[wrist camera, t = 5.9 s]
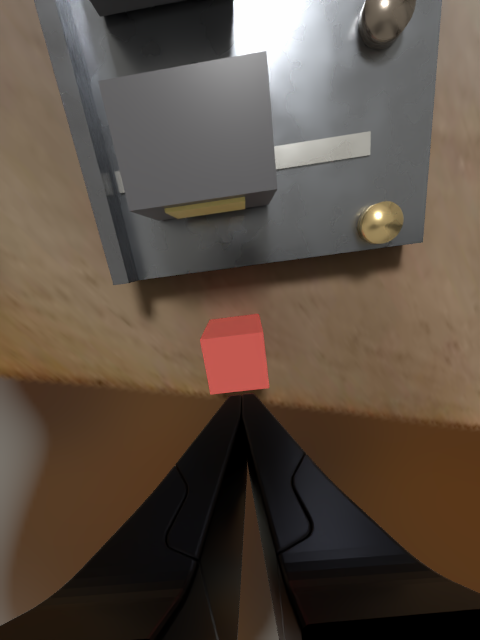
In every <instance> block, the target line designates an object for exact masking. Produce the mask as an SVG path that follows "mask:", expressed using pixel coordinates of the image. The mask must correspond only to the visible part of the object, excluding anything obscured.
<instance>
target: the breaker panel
mask: <svg viewBox="0 0 480 640" xmlns="http://www.w3.org/2000/svg"><path fill="white" fill-rule="evenodd" d="M34 2H35V6H36V10H37V13H38V17H39V20H40V24H41V27H42V31H43V35H44V38H45V42H46V45H47V49H48V52H49V56H50V60H51V63H52V67H53V70H54V74H55V77H56V81H57V85H58V88H59V92H60V95H61V99H62V102H63V106H64V110H65V113H66V117H67V120H68V124H69V127H70V131H71V135H72V138H73V142H74V145H75V149H76V152H77V156H78V160H79V163H80V167H81V170H82V174H83V177H84V181H85V185H86V188H87V192H88V195H89V199H90V202H91V206H92V210H93V213H94V217H95V220H96V224H97V227H98V231H99V235H100V238H101V242H102V245H103V249H104V252H105V256H106V260H107V263H108V267H109V270H110V274H111V277H112V281H113V285H118V284H126V283H131V282H134V281H138V280H144V279H151V278H159V277H166V276H174V275H181V274H189V273H196V272H204V271H211V270H219V269H226V268H234V267H241V266H249V265H256V264H264V263H271V262H279V261H286V260H293V259H301V258H308V257H316V256H323V255H331V254H338V253H346V252H353V251H361V250H368V249H376V248H383V247H391V246H398V245H406V244H413V243H421V242H423V233H424V220H425V207H426V195H427V182H428V170H429V157H430V144H431V132H432V119H433V106H434V94H435V81H436V69H437V56H438V43H439V31H440V18H441V6H442V0H184V1H179V2H174V3H168V4H163V5H158V6H153V7H148V8H143V9H138V10H132V11H127V12H122V13H117V14H112V15H107V16H101V17H100V16H99V15H98V13H97V11H96V10H95V8H94V7H93V5H92V3H91V2H90V0H34ZM261 51H267V62H268V75H269V88H270V101H271V113H272V126H273V139H274V151H275V164H276V177H277V191H276V193H275V194H274V196H273V198H272V200H271V202H270V203H269V205H263V206H256V207H249V208H245V209H242V210H235V211H229V212H222V213H215V214H208V215H201V216H194V217H187V218H181V219H177V218H174V219H167V220H160V221H157V220H154V219H151V218H148V217H145V216H142V215H139V214H136V213H133V212H130V211H129V208H128V204H127V200H126V195H125V191H124V187H123V183H122V179H121V175H120V170H119V166H118V162H117V158H116V154H115V150H114V146H113V141H112V137H111V133H110V129H109V125H108V121H107V116H106V112H105V108H104V104H103V100H102V96H101V92H100V87H99V83H98V81H100V80H106V79H111V78H117V77H122V76H128V75H133V74H139V73H145V72H150V71H156V70H161V69H167V68H172V67H178V66H184V65H189V64H195V63H200V62H206V61H211V60H217V59H222V58H228V57H234V56H239V55H245V54H250V53H256V52H261Z"/></svg>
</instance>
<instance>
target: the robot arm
mask: <svg viewBox="0 0 480 640" xmlns="http://www.w3.org/2000/svg"><path fill="white" fill-rule="evenodd" d="M247 462H248V469H249V475H250V481H251V486H252V492H253V498H254V502H255V508H256V514H257V519H258V525H259V531H260V536H261V542H262V547H263V552H264V558H265V564H266V570H267V575H268V581H269V586H270V591H271V597H272V603H273V609H274V614H275V620H276V625H277V631H278V636H279V640H480V593H478V592H475V591H473V590H471V589H469V588H467V587H464V586H462V585H460V584H458V583H455V582H453V581H451V580H449V579H447V578H445V577H443V576H442V575H440V574H438V573H436V572H435V571H433V570H432V569H430V568H429V567H427V566H426V565H424V564H423V563H422V562H420V561H419V560H418V559H416V558H415V557H414V556H412V555H411V554H410V553H409V552H407V550H405V549H404V548H403V547H402V546H401V545H400V544H399V543H397V542H396V541H395V540H394V539H393V538H392V537H391V536H390V535H389V534H388V533H387V532H386V531H384V530H383V529H382V528H381V527H380V526H379V525H378V524H377V523H376V522H375V521H374V520H373V519H371V518H370V517H369V516H368V515H367V514H366V513H365V512H364V511H363V510H362V509H361V508H359V507H358V506H357V505H356V504H355V503H354V502H353V501H352V500H351V499H349V497H348V496H346V495H345V494H344V493H343V492H342V491H341V490H340V489H339V488H338V487H337V486H336V485H335V484H334V483H333V482H332V481H331V480H330V479H329V478H328V477H327V476H326V475H325V474H324V473H323V472H322V471H321V470H320V469H319V467H318V466H317V465H316V464H315V463H314V462H313V461H312V459H311V458H310V457H309V456H308V455H306V453H305V452H304V450H303V449H302V448H301V447H300V446H299V445H298V444H297V442H296V441H295V440H294V439H293V438H292V437H291V436H290V434H289V433H288V432H287V431H286V430H285V429H284V427H283V426H282V425H281V424H280V423H279V422H278V421H277V420H276V418H275V417H274V416H273V415H272V414H271V413H270V411H269V410H268V409H267V408H266V407H265V406H264V404H263V403H262V402H261V401H260V400H259V399H258V397H257V396H256V395H255V394H253V393H250V394H243V395H242V396H241V395H230V396H229V397H228V398H227V400H226V401H225V402H224V404H223V405H222V406H221V407H220V409H219V410H218V411H217V413H216V414H215V415H214V416H213V417H212V419H211V420H210V421H209V423H208V424H207V425H206V426H205V428H204V429H203V430H202V431H201V433H200V434H199V435H198V437H197V438H196V439H195V440H194V442H193V443H192V444H191V446H190V447H189V448H188V449H187V451H186V452H185V453H184V454H183V456H182V457H181V458H180V459H179V461H178V462H177V463H176V466H174V467H173V468H172V469H171V471H170V472H169V473H168V474H167V476H166V477H165V478H164V479H163V481H162V482H161V483H160V484H159V486H158V487H157V488H156V489H155V490H154V491H153V493H152V494H151V495H150V496H149V497H148V498H147V499H146V500H145V502H144V503H143V504H142V505H141V506H140V507H139V508H138V509H137V510H136V511H135V513H134V514H133V515H132V516H131V517H130V518H129V519H128V520H127V521H126V522H125V523H124V524H123V525H122V526H121V527H120V528H119V530H118V531H117V532H116V533H115V534H114V535H113V536H112V537H111V538H110V539H109V540H108V541H107V542H106V543H105V545H103V547H101V549H100V550H99V551H98V552H97V553H96V554H95V555H94V556H93V557H92V558H91V559H90V560H89V561H88V562H87V563H86V564H85V565H84V567H83V568H82V569H81V570H80V571H79V572H78V573H77V574H76V575H75V576H74V577H73V578H72V579H71V580H69V582H67V583H66V584H65V585H64V586H63V587H62V588H61V589H59V590H58V591H57V592H56V593H54V594H53V595H52V596H50V597H49V598H48V599H47V600H45V601H43V602H42V603H41V604H39V605H37V606H36V607H34V608H33V609H31V610H29V611H27V612H26V613H24V614H22V615H20V616H18V617H16V618H14V619H12V620H10V621H9V622H7V623H5V624H3V625H1V626H0V640H237V635H238V618H239V601H240V584H241V567H242V550H243V533H244V516H245V499H246V482H247Z"/></svg>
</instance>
